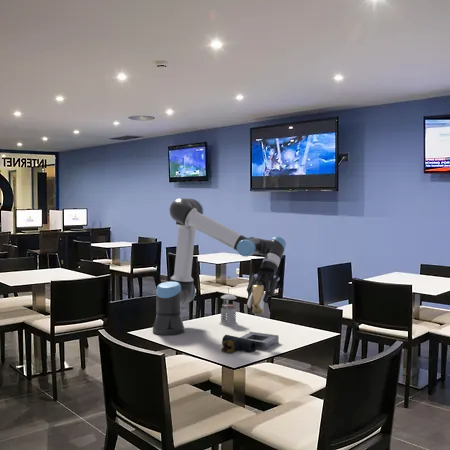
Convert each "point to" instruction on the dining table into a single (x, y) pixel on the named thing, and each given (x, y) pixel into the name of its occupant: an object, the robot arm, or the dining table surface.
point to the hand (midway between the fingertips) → (254, 306)
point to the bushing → (257, 299)
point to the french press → (228, 311)
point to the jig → (262, 339)
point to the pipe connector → (237, 344)
